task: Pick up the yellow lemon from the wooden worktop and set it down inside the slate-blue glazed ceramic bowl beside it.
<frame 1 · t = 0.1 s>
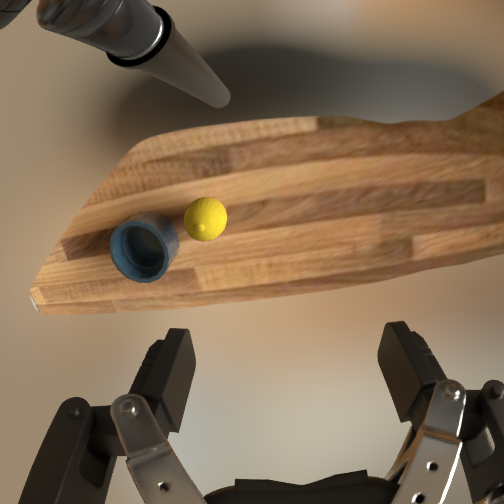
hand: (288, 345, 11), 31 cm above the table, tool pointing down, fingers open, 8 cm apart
bowl: (151, 239, 43), on the table
lemon: (211, 210, 41), on the table
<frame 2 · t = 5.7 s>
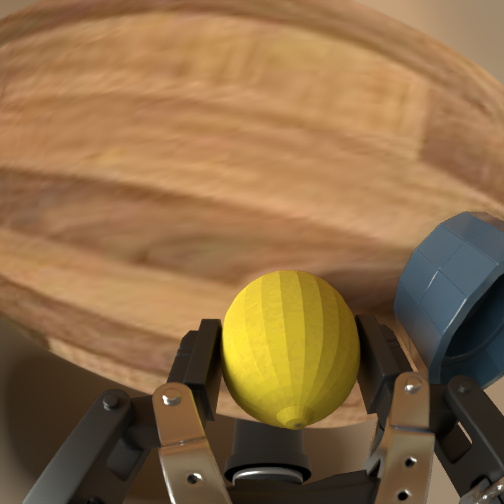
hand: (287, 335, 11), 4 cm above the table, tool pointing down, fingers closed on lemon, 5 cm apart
bowl: (454, 282, 14), on the table
lemon: (284, 290, 15), on the table, touching gripper
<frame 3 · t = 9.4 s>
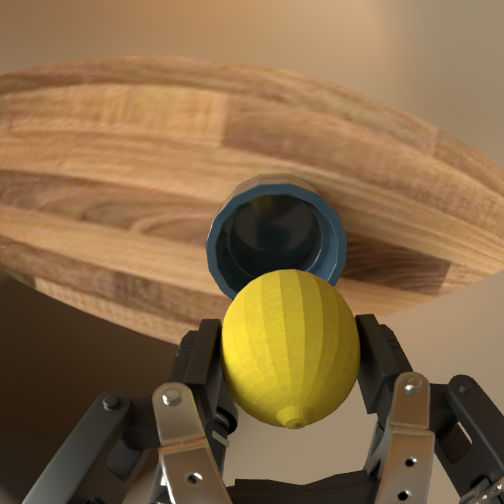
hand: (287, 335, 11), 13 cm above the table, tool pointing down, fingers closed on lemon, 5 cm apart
bowl: (274, 228, 24), on the table
lemon: (284, 290, 15), point 10 cm above the table, touching gripper
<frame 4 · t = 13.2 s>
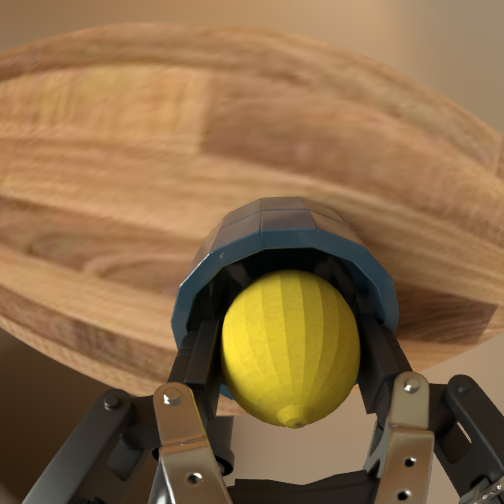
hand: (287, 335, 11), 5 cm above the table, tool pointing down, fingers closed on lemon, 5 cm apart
bowl: (281, 277, 16), on the table
lemon: (284, 289, 15), point 1 cm above the table, touching gripper
when the fingers open (6 cm above the table, at t = 17.9 s): lemon drops 2 cm, resting on bowl.
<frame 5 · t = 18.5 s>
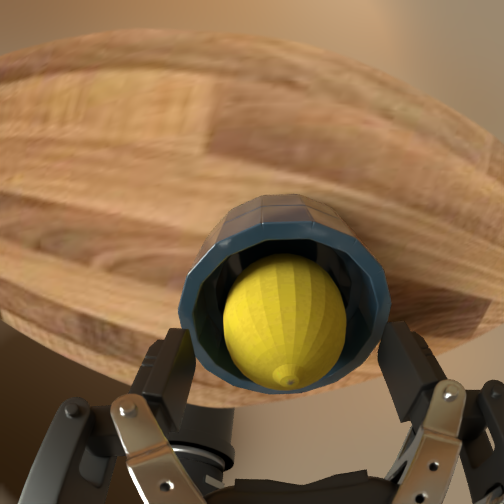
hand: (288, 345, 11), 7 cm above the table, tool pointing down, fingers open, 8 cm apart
bowl: (281, 270, 17), on the table
lemon: (280, 274, 17), resting on bowl
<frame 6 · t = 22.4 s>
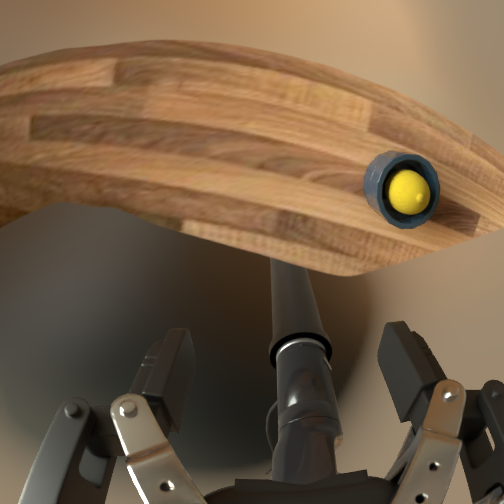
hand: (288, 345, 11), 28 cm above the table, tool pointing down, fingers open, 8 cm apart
bowl: (392, 184, 35), on the table
lemon: (393, 185, 35), resting on bowl
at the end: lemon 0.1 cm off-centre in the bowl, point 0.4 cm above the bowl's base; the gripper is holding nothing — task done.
